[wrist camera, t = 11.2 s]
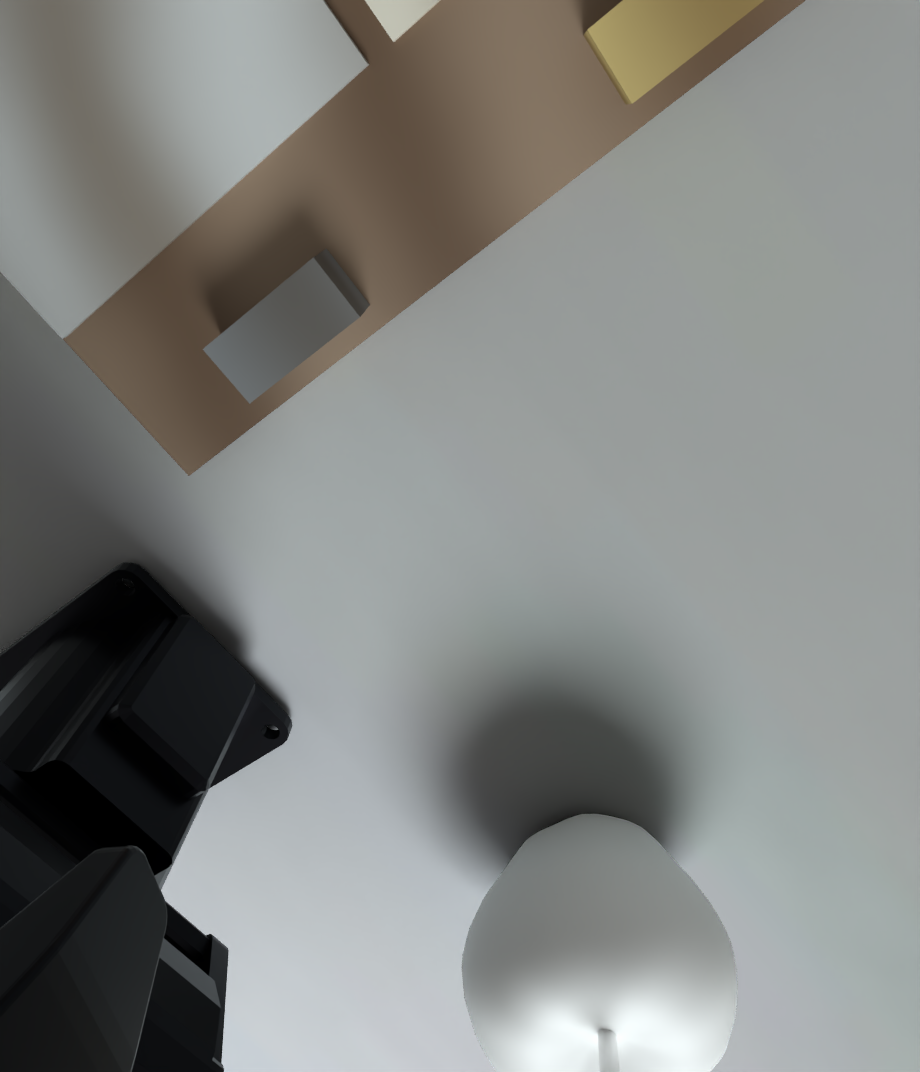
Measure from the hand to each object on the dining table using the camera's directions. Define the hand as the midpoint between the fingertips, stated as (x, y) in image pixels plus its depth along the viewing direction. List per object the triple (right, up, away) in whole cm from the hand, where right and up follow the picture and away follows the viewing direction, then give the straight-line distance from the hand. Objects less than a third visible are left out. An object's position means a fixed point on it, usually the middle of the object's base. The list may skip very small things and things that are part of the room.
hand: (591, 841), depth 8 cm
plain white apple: (+3, -7, +18) cm, 19 cm away
